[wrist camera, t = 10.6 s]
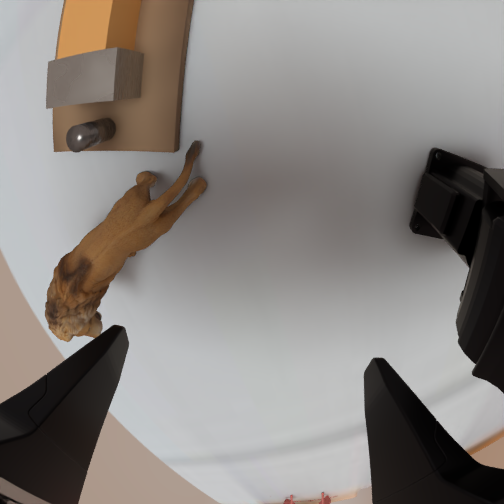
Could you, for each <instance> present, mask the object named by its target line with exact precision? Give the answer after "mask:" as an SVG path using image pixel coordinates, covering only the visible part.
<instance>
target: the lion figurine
mask: <svg viewBox="0 0 504 504" xmlns="http://www.w3.org/2000/svg"><path fill="white" fill-rule="evenodd" d="M199 149H200V142H198V141H194V142H193V143H192V145H191V147H190V149H189V150H188V152H187V154H186V160H185V165H184V168H183V171H182V173H181V175H180V176H179V178H178V179H177V180H176V182H175V183H174V184H173V185H172V186H171V187H170V188H169V189H168V190H167V191H166V192H165V193H164V194H162V195H161V196H160V197H159V198H158V199H156V200H151V199H150V191H149V189H150V188H151V187H153V186H154V185H155V183H156V181H157V178H156V176H154V175H152V174H151V173H149V172H141V173H139V174H138V175H137V178H136V182H137V185H135V186H134V187H132V188H131V189H129V190H128V191H127V192H126V193H125V194H124V196H123V197H122V198H121V199H119V200H118V201H117V202H116V203H115V205H114V206H113V208H112V210H111V211H110V213H109V214H108V216H107V217H106V219H105V220H104V221H103V222H102V223H100V224H99V225H98V226H97V227H96V228H94V229H93V230H92V231H90V232H89V233H88V234H87V235H86V236H85V237H84V238H83V239H82V241H81V242H80V244H79V245H77V246H76V247H75V248H74V249H73V251H72V252H70V253H68V254H66V255H65V256H64V257H62V258H61V260H60V262H59V264H58V266H56V267H55V269H54V275H53V276H54V277H53V279H52V281H51V283H50V287H49V288H48V291H47V302H46V304H45V307H46V310H45V317H46V319H47V322H48V324H49V329H50V330H51V331H52V333H53V334H54V335H55V336H56V337H57V338H59V339H60V340H64V341H67V342H69V341H70V340H71V339H72V338H73V336H78V337H79V336H83V335H85V336H90V337H93V338H96V337H97V336H99V335H100V334H101V331H102V322H101V317H102V316H101V314H100V313H99V312H98V311H96V310H97V308H98V307H99V305H100V303H101V301H100V300H101V299H102V297H103V296H104V295H105V293H106V292H107V289H108V288H109V284H110V282H111V281H112V280H113V279H114V277H115V275H116V274H117V273H118V272H119V271H120V270H121V268H122V267H123V265H124V262H125V260H126V259H127V257H131V256H135V254H136V251H139V250H142V249H145V248H147V247H148V246H150V245H151V244H152V243H153V242H154V241H155V240H156V239H157V238H159V237H160V236H161V235H163V234H165V233H166V232H168V231H169V230H170V228H171V227H172V225H173V224H174V223H175V221H176V220H177V219H178V218H179V217H180V215H181V214H182V213H183V212H184V210H185V209H186V208H187V207H188V206H189V205H190V204H191V203H192V202H193V201H194V200H196V199H197V198H198V197H199V195H200V194H202V193H203V192H204V190H205V189H206V186H207V185H206V182H205V181H204V180H203V179H202V178H200V177H197V178H194V179H193V180H191V181H190V183H189V184H188V189H187V190H186V191H185V193H184V194H183V195H182V196H181V198H180V199H179V200H178V201H177V202H175V203H174V204H172V205H170V206H168V205H169V204H170V203H171V202H172V200H173V199H174V198H175V197H176V196H177V195H178V194H179V192H180V191H181V190H182V188H183V187H184V186H185V184H186V183H187V181H188V179H189V176H190V173H191V170H192V167H193V162H194V160H195V158H196V157H197V155H198V154H199ZM167 206H168V207H167Z"/></svg>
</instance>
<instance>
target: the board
mask: <svg viewBox="0 0 504 504" xmlns="http://www.w3.org/2000/svg"><path fill="white" fill-rule="evenodd" d="M193 2H194V0H141V6H140V12H139V18H138V24H137V31H136V39H135V47H134V51H137V52H141V53H144V61H143V72H142V84H141V98H134V99H124V100H115V101H104V102H93V103H83V104H75V105H67V106H61V107H54V108H53V142H54V152H62V151H73V152H80V151H151V152H172V153H174V152H176V151H177V150H179V135H180V118H181V104H182V92H183V81H184V70H185V61H186V52H187V44H188V36H189V29H190V22H191V15H192V8H193ZM65 4H66V0H64V4H63V9H62V14H61V20H60V26H59V32H58V39H57V47H56V56H55V60H57V57H58V47H59V39H60V32H61V26H62V20H63V14H64V9H65Z"/></svg>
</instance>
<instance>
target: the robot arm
mask: <svg viewBox="0 0 504 504" xmlns="http://www.w3.org/2000/svg"><path fill="white" fill-rule="evenodd" d="M437 153H439V156H438V158H436V154H437ZM417 224H418V227H417V228H415V226H416V225H417ZM410 229H411V230H412V232H413V233H415V234H420V235H425V236H430V237H435V238H440V239H444V240H445V241H446V242H447V243H448V244H449V245H450V246H451V247H452V249H453V250H454V251H455V252H456V253H457V254H458V255H459V256H460V258H461V259H462V260H463V261H464V262H465V263H466V265H467V266H468V267H469V272H468V276H467V280H466V283H465V287H464V290H463V291H462V293H461V296H460V302H461V303H460V306H459V309H458V313H457V319H456V326H457V331H458V336H459V339H458V344H459V345H460V347H461V349H462V350H463V352H464V353H465V354H466V355H467V356H468V357H469V359H470V360H471V361H472V362H474V363H475V364H476V365H475V367H474V369H473V371H472V375H473V376H475V377H478V378H481V379H483V380H486V381H488V382H490V383H491V384H493V385H494V386H496V387H498V388H499V389H500V390H501V391H502V392H503V393H504V169H488V168H486V167H484V166H481V165H479V164H477V163H474V162H472V161H470V160H467V159H465V158H462V157H460V156H457V155H455V154H452V153H450V152H447V151H444V150H442V149H439V148H433V149H432V150H431V153H430V157H429V161H428V165H427V169H426V172H425V174H424V175H423V179H422V182H421V186H420V189H419V193H418V196H417V199H416V203H415V210H414V213H413V216H412V219H411V222H410ZM128 347H129V341H128V337H127V333H126V329H125V328H124V327H123V326H119V325H113V326H111V327H110V328H109V329H107V330H106V331H104V332H103V333H102V334H100V335H99V336H97V337H96V338H95V339H93V340H92V341H91V342H89V343H88V344H86V345H85V346H84V347H82V348H81V349H80V350H78V351H77V352H75V353H74V354H73V355H71V356H70V357H69V358H67V359H66V360H65V361H63V362H62V363H61V364H59V365H58V366H56V367H55V368H54V369H52V370H51V371H50V372H49V373H47V375H44V376H43V377H42V378H40V379H39V380H37V381H36V382H35V383H33V384H32V385H30V386H29V387H27V388H26V389H24V390H23V391H21V392H19V393H18V394H16V395H14V396H13V397H11V398H9V399H7V400H6V401H4V402H2V403H1V404H0V504H78V502H79V499H80V495H81V492H82V488H83V485H84V481H85V478H86V475H87V470H88V468H89V465H90V461H91V458H92V455H93V452H94V449H95V446H96V443H97V440H98V437H99V434H100V431H101V429H102V426H103V423H104V420H105V418H106V415H107V412H108V409H109V407H110V404H111V401H112V399H113V396H114V394H115V391H116V388H117V386H118V383H119V380H120V376H121V372H122V369H123V365H124V361H125V358H126V354H127V351H128ZM364 401H365V418H366V427H367V436H368V445H369V456H370V468H371V483H372V502H373V504H504V469H499V468H495V467H489V466H485V465H482V464H480V463H478V462H477V461H475V460H474V459H473V458H472V457H471V456H470V455H469V454H468V453H467V452H466V451H465V450H464V449H463V448H462V447H461V446H460V445H459V444H458V443H457V442H456V441H455V440H454V439H453V438H452V437H451V436H450V435H449V434H448V432H447V431H446V430H445V429H444V428H443V427H442V426H441V424H440V423H439V422H438V421H436V418H435V417H434V416H433V415H432V414H431V412H430V411H429V410H428V409H427V408H426V406H425V405H424V404H423V403H422V402H421V401H420V399H419V398H418V397H417V396H416V395H415V393H414V392H413V391H412V390H411V389H410V388H409V386H408V385H407V384H406V383H405V382H404V381H403V380H402V378H401V377H400V376H399V375H398V374H397V373H396V371H395V370H394V369H393V368H392V367H391V366H390V365H389V363H388V362H387V361H386V360H385V359H384V358H373V359H372V360H371V362H370V363H369V365H368V367H367V368H366V370H365V372H364Z"/></svg>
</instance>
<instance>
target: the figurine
mask: <svg viewBox="0 0 504 504" xmlns="http://www.w3.org/2000/svg"><path fill="white" fill-rule="evenodd" d="M335 497H336V496H335ZM331 498H332V497H331ZM319 500H321V501H320V503H319V504H330V503H331V500H330V498H329V496H328V495H327V496H326V497H325V498H324V493H322V499H319ZM310 501H314V500H310ZM294 502H299V501H293V500H292V495H291V500H289V499H286V500H285V501H284V503H283V504H295V503H294Z"/></svg>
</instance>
